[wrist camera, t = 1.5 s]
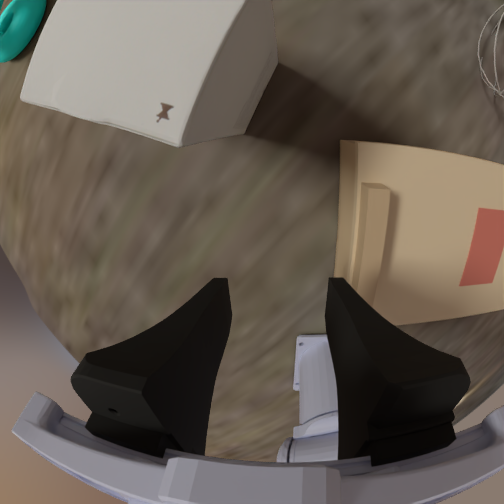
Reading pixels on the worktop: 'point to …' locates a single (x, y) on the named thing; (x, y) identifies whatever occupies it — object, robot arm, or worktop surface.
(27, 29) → the donuts
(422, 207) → the lid
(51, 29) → the small box
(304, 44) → the worktop surface
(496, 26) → the kitchen whisk
